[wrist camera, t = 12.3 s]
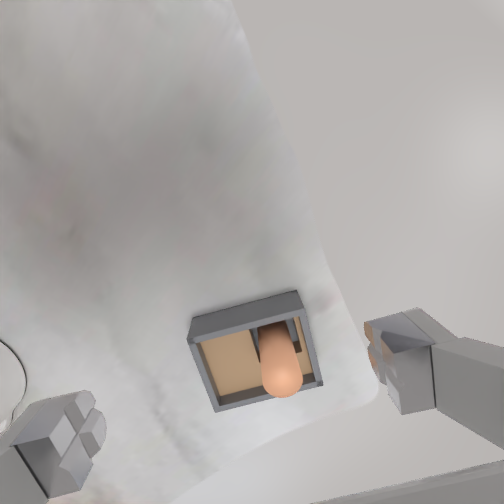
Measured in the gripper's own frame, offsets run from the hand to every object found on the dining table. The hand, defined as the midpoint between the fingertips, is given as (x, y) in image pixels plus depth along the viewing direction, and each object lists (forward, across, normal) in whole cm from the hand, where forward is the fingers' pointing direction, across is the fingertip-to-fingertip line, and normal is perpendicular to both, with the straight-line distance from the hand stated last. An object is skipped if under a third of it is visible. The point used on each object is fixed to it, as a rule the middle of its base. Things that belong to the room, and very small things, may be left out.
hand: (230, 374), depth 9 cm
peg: (+27, -1, +16) cm, 31 cm away
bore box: (+28, +2, +17) cm, 33 cm away
